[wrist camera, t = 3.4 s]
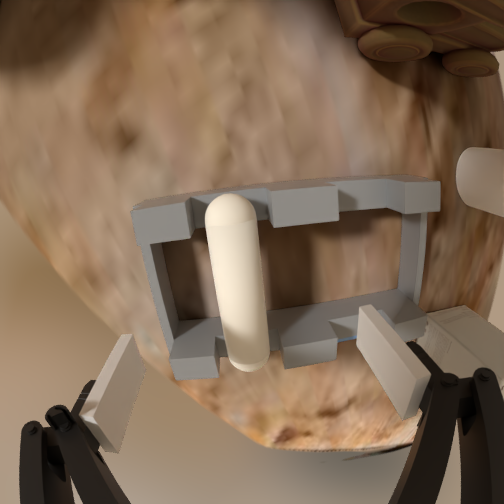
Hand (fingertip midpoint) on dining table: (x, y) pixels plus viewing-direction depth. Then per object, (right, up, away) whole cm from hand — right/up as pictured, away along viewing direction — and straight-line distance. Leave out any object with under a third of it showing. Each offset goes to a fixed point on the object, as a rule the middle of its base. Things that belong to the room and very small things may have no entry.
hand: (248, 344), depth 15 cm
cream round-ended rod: (-1, +3, +7) cm, 8 cm away
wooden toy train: (+16, +29, +4) cm, 33 cm away
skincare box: (+25, -4, +15) cm, 30 cm away
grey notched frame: (+4, +4, +11) cm, 12 cm away
